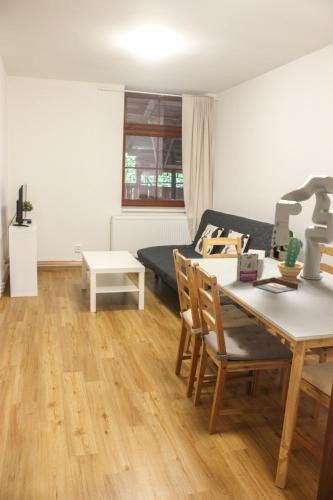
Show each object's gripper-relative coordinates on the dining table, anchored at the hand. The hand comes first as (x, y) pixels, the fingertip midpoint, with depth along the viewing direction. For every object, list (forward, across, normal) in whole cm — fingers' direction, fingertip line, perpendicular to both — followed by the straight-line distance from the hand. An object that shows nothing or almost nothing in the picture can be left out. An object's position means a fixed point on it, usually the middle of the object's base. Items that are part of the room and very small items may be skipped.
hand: (278, 257), depth 241 cm
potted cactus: (+17, +23, +9) cm, 30 cm away
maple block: (+1, 0, +1) cm, 2 cm away
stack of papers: (+17, +20, +34) cm, 43 cm away
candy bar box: (+17, -6, +17) cm, 25 cm away
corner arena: (+17, -3, -2) cm, 17 cm away
